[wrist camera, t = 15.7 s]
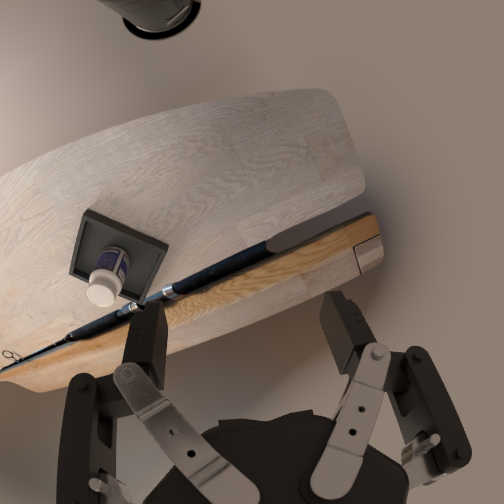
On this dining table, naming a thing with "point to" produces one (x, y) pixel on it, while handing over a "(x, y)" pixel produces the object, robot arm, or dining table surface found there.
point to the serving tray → (114, 234)
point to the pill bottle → (108, 276)
